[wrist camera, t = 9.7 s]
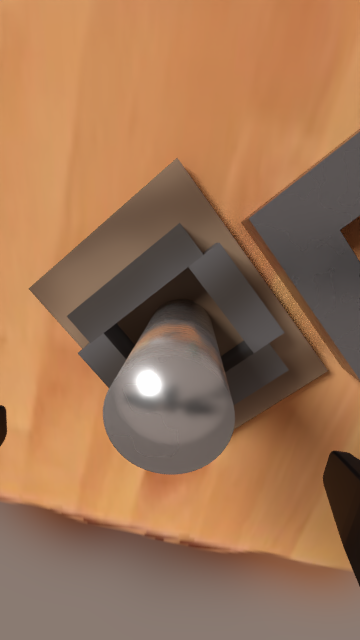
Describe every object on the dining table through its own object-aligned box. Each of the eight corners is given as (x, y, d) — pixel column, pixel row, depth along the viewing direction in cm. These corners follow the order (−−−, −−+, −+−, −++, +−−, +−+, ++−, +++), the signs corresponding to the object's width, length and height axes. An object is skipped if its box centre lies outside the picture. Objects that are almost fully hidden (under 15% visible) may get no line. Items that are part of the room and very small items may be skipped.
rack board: (321, 364, 20) (348, 389, 16) (183, 451, 22) (181, 489, 19) (178, 162, 17) (174, 142, 13) (37, 286, 19) (3, 295, 16)
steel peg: (224, 335, 18) (261, 430, 9) (175, 370, 19) (158, 494, 9) (186, 286, 18) (179, 329, 8) (137, 324, 18) (76, 406, 9)
